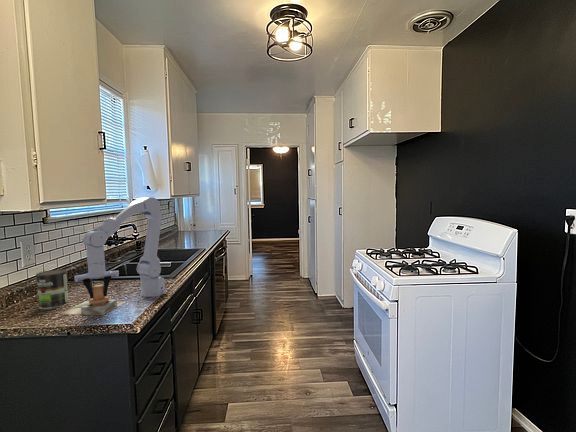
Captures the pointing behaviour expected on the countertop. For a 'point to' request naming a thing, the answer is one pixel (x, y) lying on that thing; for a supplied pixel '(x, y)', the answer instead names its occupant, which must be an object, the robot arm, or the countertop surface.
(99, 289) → the end cover
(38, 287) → the coffee can
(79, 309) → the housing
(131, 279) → the countertop surface
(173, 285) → the countertop surface
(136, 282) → the countertop surface
